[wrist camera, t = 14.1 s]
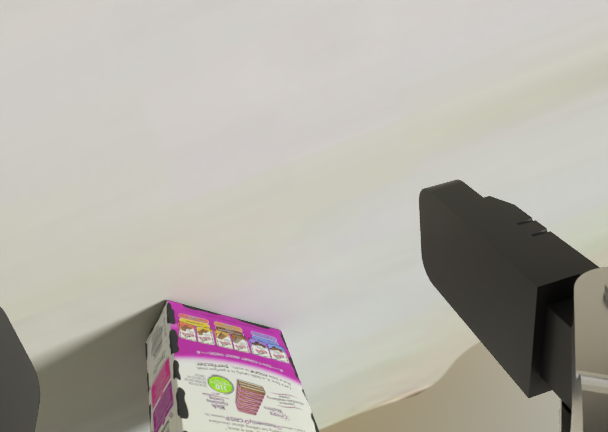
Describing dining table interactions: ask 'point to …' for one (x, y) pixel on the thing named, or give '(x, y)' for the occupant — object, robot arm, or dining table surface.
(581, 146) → the dining table surface
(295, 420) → the candy bar box
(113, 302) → the dining table surface
